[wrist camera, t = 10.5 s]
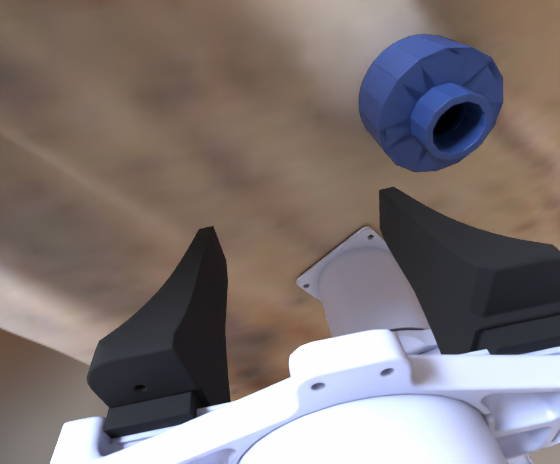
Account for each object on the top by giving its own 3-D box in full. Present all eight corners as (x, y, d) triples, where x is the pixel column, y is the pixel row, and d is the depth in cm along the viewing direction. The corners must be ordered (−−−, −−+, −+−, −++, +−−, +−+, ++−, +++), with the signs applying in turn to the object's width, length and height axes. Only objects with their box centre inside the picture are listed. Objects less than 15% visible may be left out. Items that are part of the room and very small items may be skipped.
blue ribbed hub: (481, 92, 24) (547, 126, 19) (395, 162, 26) (434, 209, 21) (429, 5, 20) (493, 18, 16) (337, 95, 23) (366, 131, 18)
